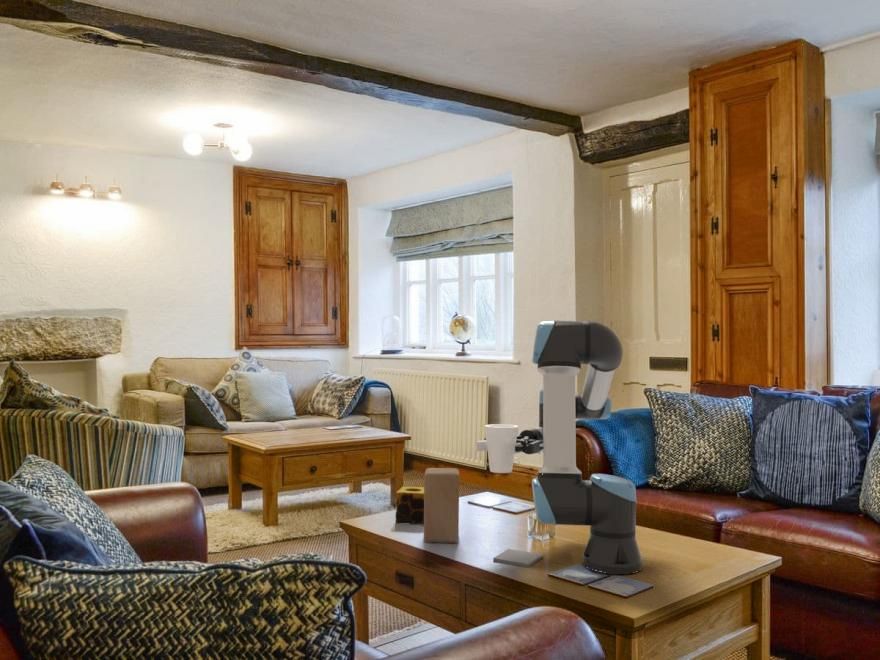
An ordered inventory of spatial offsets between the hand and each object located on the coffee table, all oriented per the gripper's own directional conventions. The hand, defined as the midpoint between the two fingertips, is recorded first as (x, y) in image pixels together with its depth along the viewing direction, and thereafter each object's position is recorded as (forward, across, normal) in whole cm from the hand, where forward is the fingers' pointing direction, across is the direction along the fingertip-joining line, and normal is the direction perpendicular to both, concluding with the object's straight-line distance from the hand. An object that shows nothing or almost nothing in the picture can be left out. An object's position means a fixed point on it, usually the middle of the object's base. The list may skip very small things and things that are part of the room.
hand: (492, 448), depth 219 cm
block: (+3, +16, -28) cm, 32 cm away
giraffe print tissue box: (-8, +36, -28) cm, 46 cm away
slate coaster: (+5, -12, -28) cm, 31 cm away
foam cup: (-4, 0, -7) cm, 9 cm away
